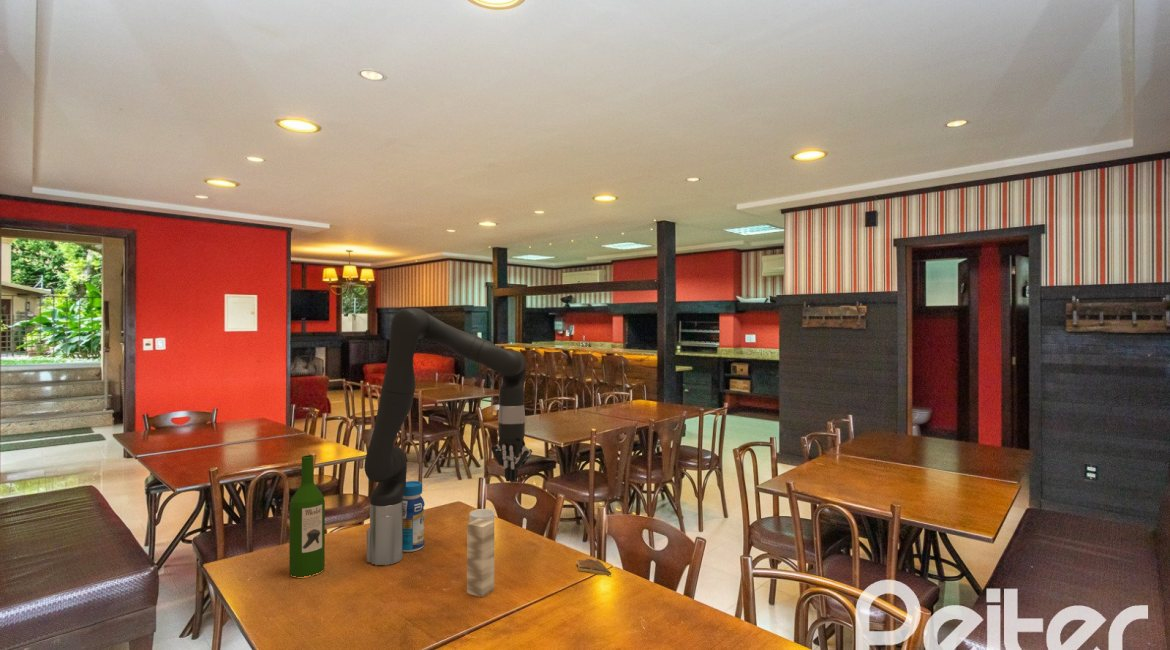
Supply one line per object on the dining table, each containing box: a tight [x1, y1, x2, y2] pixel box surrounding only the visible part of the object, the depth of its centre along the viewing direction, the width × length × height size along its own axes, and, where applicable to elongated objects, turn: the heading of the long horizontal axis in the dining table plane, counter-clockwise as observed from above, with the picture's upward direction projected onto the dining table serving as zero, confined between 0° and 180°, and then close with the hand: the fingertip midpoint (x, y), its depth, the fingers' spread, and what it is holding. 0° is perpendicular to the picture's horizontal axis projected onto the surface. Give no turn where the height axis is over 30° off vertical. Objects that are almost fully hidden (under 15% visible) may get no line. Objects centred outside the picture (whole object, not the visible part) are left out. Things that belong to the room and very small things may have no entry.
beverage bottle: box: [403, 480, 426, 553], centre depth 179 cm, size 8×8×20 cm
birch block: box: [466, 518, 495, 598], centre depth 150 cm, size 5×5×18 cm
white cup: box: [468, 508, 495, 523], centre depth 182 cm, size 8×8×10 cm
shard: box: [575, 558, 612, 577], centre depth 163 cm, size 11×8×2 cm
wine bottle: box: [288, 454, 326, 577], centre depth 162 cm, size 9×9×32 cm
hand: (511, 481), depth 164 cm, fingers closed
